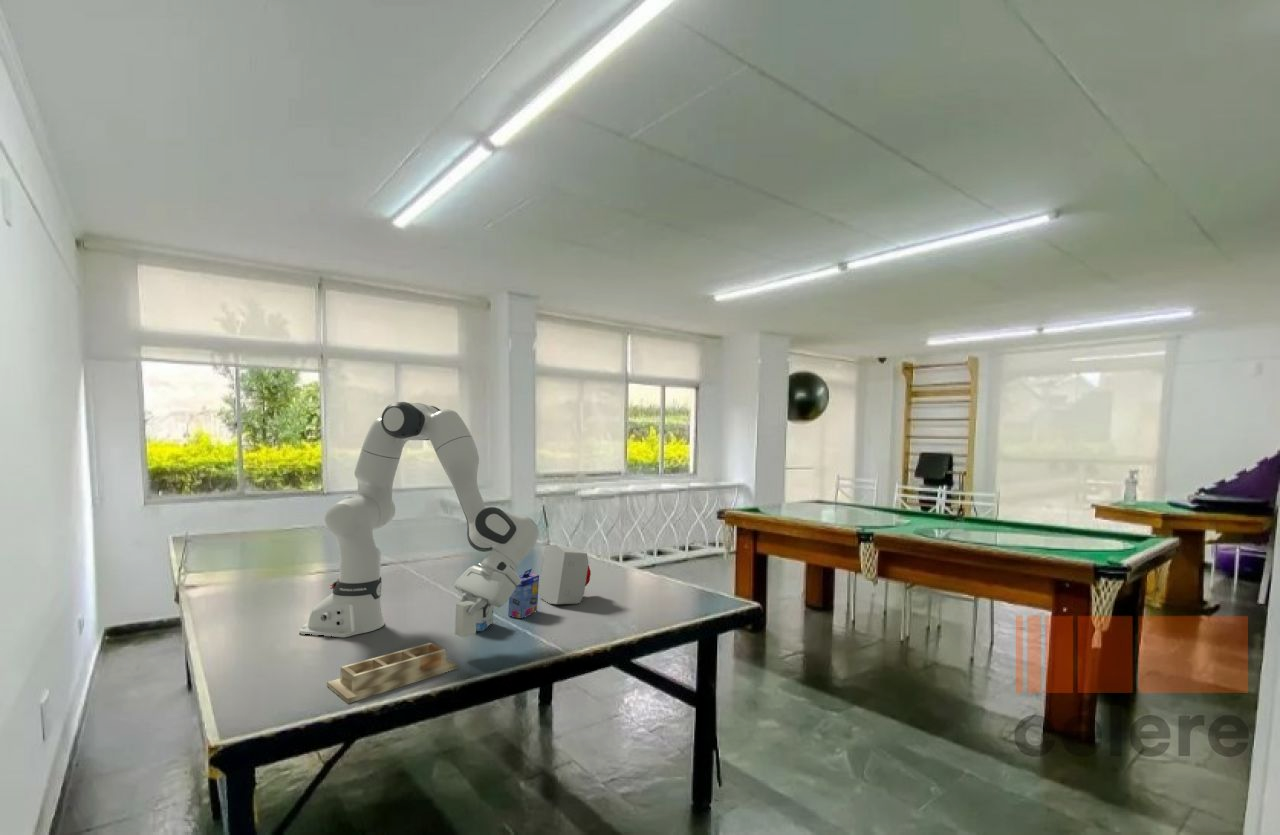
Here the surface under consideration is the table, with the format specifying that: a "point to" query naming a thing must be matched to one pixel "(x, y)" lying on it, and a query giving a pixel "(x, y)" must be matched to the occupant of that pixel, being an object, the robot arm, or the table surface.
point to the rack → (390, 671)
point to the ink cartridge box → (524, 596)
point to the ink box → (483, 616)
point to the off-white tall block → (465, 620)
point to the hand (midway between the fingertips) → (464, 611)
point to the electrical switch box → (563, 575)
